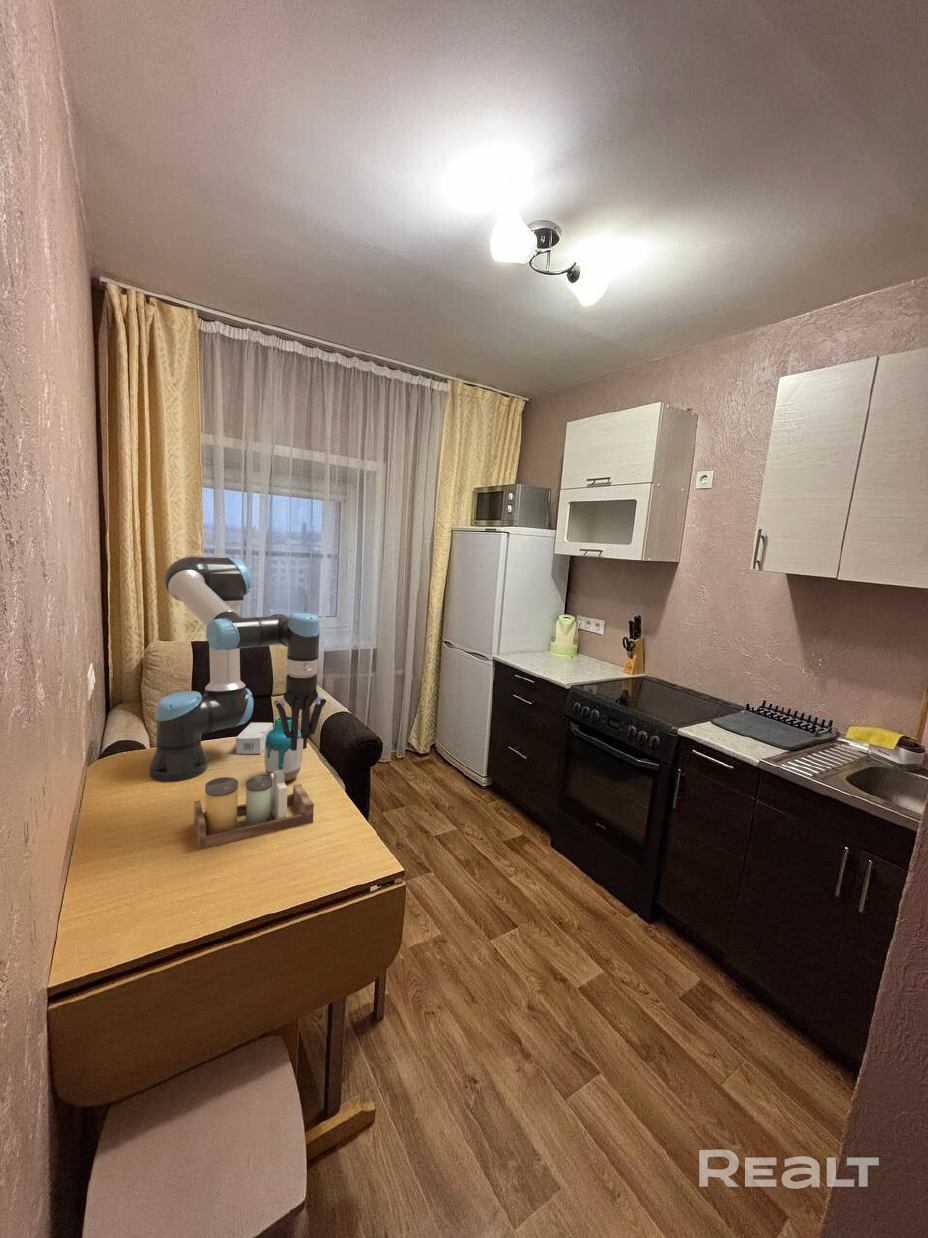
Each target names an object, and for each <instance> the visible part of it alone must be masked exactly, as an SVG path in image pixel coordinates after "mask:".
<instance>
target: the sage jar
mask: <svg viewBox="0 0 928 1238" xmlns="http://www.w3.org/2000/svg"><path fill="white" fill-rule="evenodd" d="M245 789H246V790H245V804H246V815H245V827H247V826H251V825H255V824H260V823H264V822H268V821H272V813H271V804H272V778H270V777H268V776H267V775H258V776H252V777H250V778H249V779H248V780H246V782H245Z"/></svg>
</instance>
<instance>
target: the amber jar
mask: <svg viewBox="0 0 928 1238" xmlns="http://www.w3.org/2000/svg"><path fill="white" fill-rule="evenodd" d="M238 789H239V780H238V779H236V778H234V777H230V776H227V777H226V776H223V777H216V778H214V779H211V780H210V781H209V780H208V782H206V783H205V787H204V793H205V806H204V807H205V809H204V810H205V811H204V812H205V823H206V836H208V835H212V834H217V833H221V832H225V831H229V830H234V829H238V816H237V805H238V799H239V797H238V793H239V790H238Z"/></svg>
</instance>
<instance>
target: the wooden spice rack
mask: <svg viewBox="0 0 928 1238" xmlns="http://www.w3.org/2000/svg"><path fill="white" fill-rule="evenodd" d="M292 805H294V807H295V809H296V811H297V813H298V814H295V815H291V816H287V817H285V818H281V819H277V820H275V819H272V820H271V821H268V822H264V823H260V824H255V825H251V826H243V827H237V829H234V830H229V831H225V832H221V833H217V834H212V835H208V836H206V823H205V811H204V810H203V807H202V804H201V800H200V799H199V800H194V804H193V806H194V813H193V815H194V816H193V817H194V818H193V819H194V821H193V822H194V824H193V825H194V829H195V833H196V838H197V842H198V843H197V844H198V847H199V848H198V849H199V850H204V849H209V848H213V847H218V846H221V845H225V844H230V843H233V842H238V841H242V840H246V839H250V838H254V837H258V836H261V835H262V836H263V835H266V834H270V833H274V832H278V831H282V830H287V829H291V828H294V827H299V826H303V825H307V824H312V823H314V807H315V805H314V802H313V801H312V799H311V798H310V795H308V793H307V792H306V790H305V789H304V787H303V786H302V784H301V783H299V784H294V785H293V786H292V793H291V794H287V806H292ZM203 811H204V812H203ZM240 816H246V803H243V804H237V817H240Z"/></svg>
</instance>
